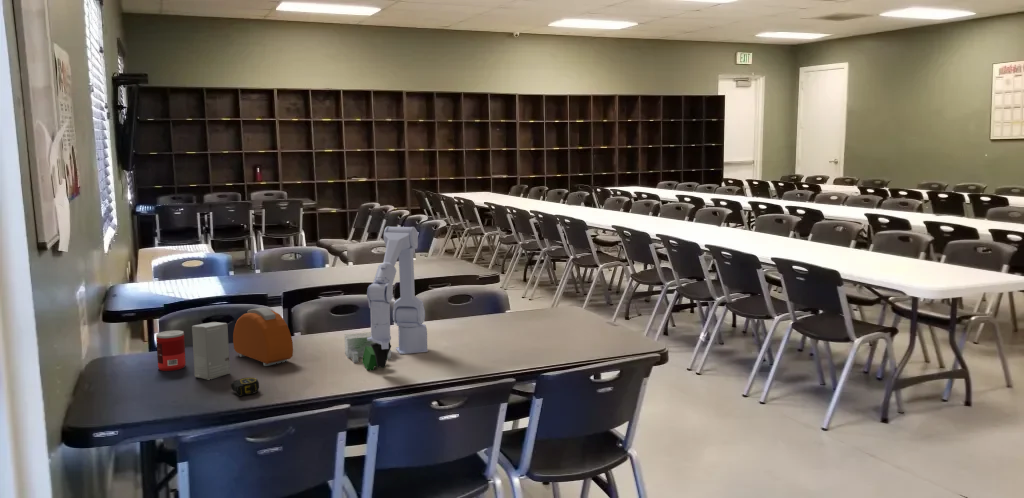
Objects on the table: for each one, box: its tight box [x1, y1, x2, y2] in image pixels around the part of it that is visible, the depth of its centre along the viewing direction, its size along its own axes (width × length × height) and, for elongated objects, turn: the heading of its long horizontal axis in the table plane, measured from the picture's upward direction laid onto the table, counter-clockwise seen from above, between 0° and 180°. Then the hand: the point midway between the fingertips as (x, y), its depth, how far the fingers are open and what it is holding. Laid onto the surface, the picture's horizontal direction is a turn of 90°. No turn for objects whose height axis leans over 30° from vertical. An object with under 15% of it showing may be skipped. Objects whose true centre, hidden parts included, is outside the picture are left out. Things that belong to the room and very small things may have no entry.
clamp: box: [361, 346, 388, 371], centre depth 237 cm, size 11×6×8 cm, turn 14°
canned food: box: [155, 329, 187, 372], centre depth 234 cm, size 8×8×11 cm
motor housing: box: [344, 331, 392, 364], centre depth 248 cm, size 14×12×7 cm
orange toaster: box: [232, 307, 294, 367], centre depth 244 cm, size 23×9×17 cm, turn 47°
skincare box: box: [191, 321, 231, 381], centre depth 226 cm, size 8×7×16 cm
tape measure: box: [230, 377, 260, 396], centre depth 210 cm, size 7×7×4 cm
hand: (381, 366), depth 228 cm, fingers closed
